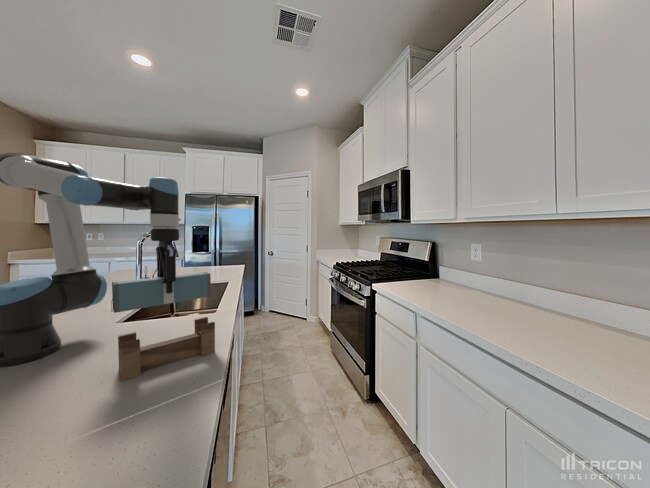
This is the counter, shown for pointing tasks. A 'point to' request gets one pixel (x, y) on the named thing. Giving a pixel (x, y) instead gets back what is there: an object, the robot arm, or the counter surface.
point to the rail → (158, 291)
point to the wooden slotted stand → (163, 349)
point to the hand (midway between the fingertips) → (166, 301)
